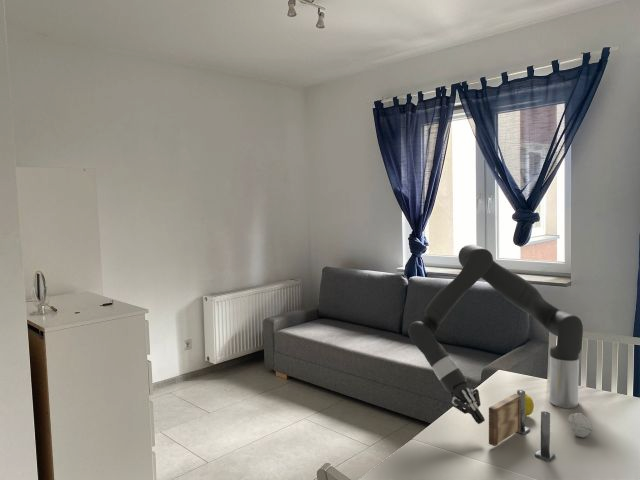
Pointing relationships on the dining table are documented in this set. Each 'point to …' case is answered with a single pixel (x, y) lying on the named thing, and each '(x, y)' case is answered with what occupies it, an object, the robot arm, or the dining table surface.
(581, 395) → the dining table surface
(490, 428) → the gate
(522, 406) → the grey upright posts
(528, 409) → the lemon
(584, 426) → the white lumpy piece
